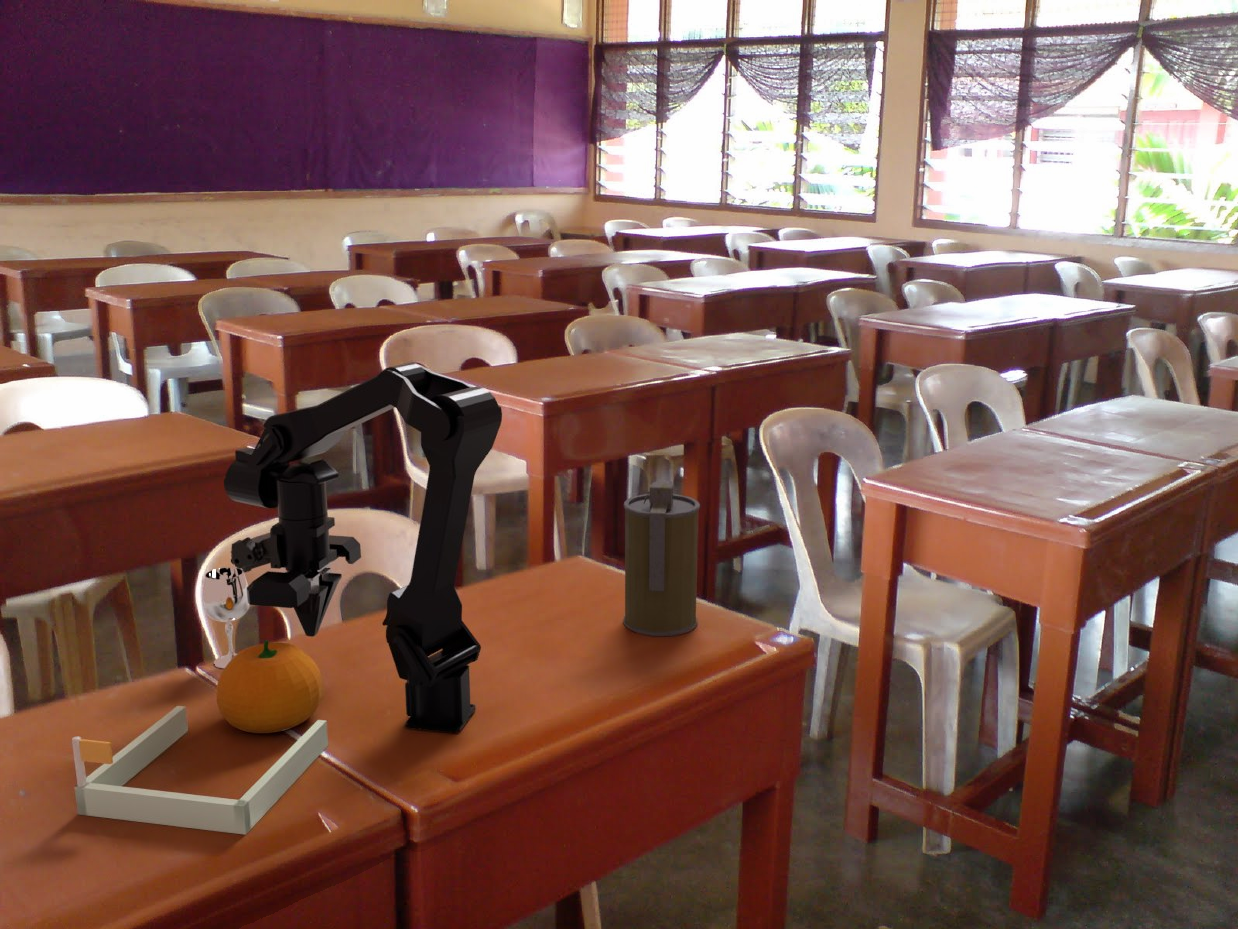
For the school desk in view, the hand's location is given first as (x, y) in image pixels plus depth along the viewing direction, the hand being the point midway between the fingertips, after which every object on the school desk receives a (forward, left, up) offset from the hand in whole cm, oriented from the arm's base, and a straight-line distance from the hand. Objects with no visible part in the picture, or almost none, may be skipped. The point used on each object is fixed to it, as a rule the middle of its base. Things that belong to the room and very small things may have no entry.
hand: (311, 635), depth 142 cm
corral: (0, +24, -6) cm, 25 cm away
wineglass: (+13, -3, -6) cm, 15 cm away
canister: (-39, -27, -6) cm, 48 cm away
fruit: (0, +11, -6) cm, 13 cm away
